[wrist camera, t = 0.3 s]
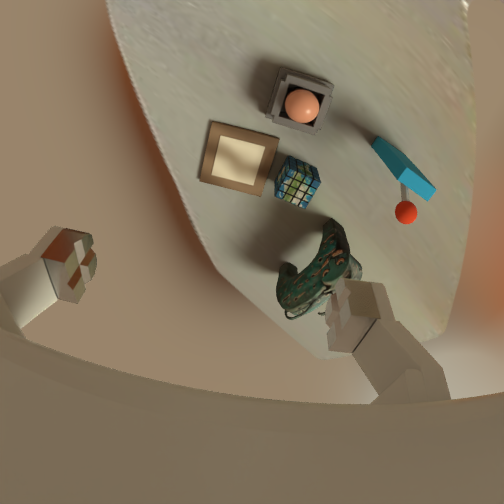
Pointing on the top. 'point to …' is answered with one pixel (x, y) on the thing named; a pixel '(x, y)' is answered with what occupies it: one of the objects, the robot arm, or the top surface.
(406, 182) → the lever
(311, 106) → the dome
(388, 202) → the top surface
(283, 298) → the ceramic cat
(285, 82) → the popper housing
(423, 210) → the top surface
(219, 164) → the brown and cream pad
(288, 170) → the puzzle
